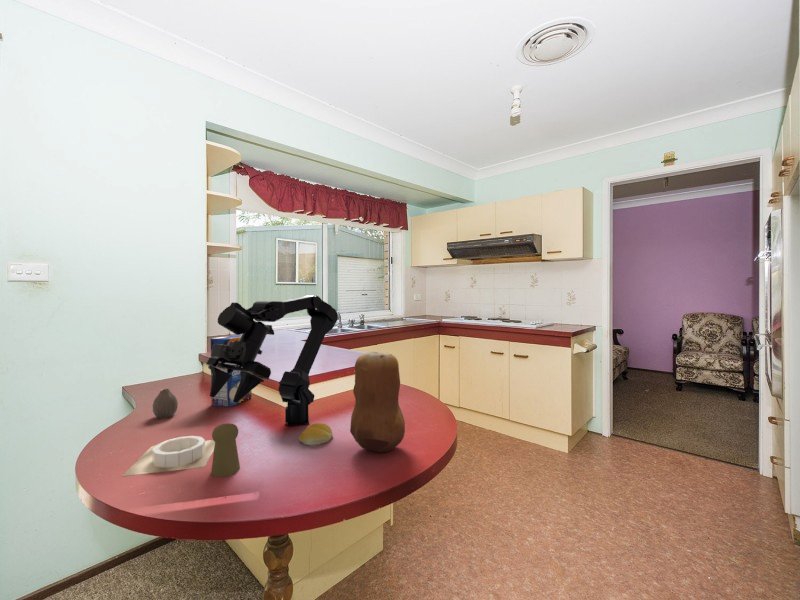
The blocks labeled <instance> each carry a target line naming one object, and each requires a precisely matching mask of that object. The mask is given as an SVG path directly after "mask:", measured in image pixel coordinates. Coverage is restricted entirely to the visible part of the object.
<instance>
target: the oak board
mask: <svg viewBox="0 0 800 600" xmlns="http://www.w3.org/2000/svg"><path fill="white" fill-rule="evenodd" d="M155 446H156V445H151V446H150V448H148V449H147V450H146V451H145V452H144V453H143V454H142V455H141V457H139V458H138V459H137V460H136V462H134V463H133V464H132V465H131V467H129V468H128V469H127V470H126V471H125V472H124V473H123V474H122V477H128V476H131V477H132V476H137V475H138V476H139V475H145V474H146V475H147V474H156V473H163V472H165V473H166V472H172V471H173V472H175V471H181V470H188V469H189V470H190V469H199V468H205V467H206V465H207V464H208V462H209V460H210V458H211V456H212V455H213V454H214V446H215V442H214V441H213V439H212V440H210V439H209V440H205V453H204V455H203V456H202V457H201V458H199V459H198V460H196V461H194V462H192V463H188V464H185V465H182V466H177V467H168V468H166V467H165V468H163V467H156V466H155V465H154V464H153V455H152V449H153V448H154V447H155Z"/></svg>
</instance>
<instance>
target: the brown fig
mask: <svg viewBox="0 0 800 600" xmlns="http://www.w3.org/2000/svg"><path fill="white" fill-rule="evenodd" d="M178 404H179V402H178V398H177V397H176V396H175V395H174V393H172V391H171V390H170V388H164V389H160V391H159V393H158V395H157V396H156V397H155V398H154V400H153V403H152V412H153V415H154V416H155V417H157V418H158V419H168V418H171V417H173V416H174V415H175V414H176V412H177V410H178V407H179V406H178Z"/></svg>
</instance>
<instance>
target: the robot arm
mask: <svg viewBox="0 0 800 600" xmlns="http://www.w3.org/2000/svg"><path fill="white" fill-rule="evenodd" d="M304 310H306V312H307V315H308V316H310V319H309V320H310V321H309V322H310V328H311V329H310V330H309V333H308V336H307V337H306V340H305V342H304V345H303V347H302V349H301V351H300V353H299V356H298V358H297V361H296V362H295V364H294V367H293V368H292V369H291V370H290V371H287V370H286V371H284V372H283V374H282V377H281V379H280V381H279V382H278V384H279V385H278V389H277V390H278V393H279V395H280V397H281V400H282V402H283V403H287V404H286V405H287V406H285V408H284V410H285V413H284V414H285V423H286V426H287V427H290V426H291V427H292V425H293V426H300V425H302V426H303V425H309V424H310V417H309V414H310V413H309V405H311V403H314V400H315V394H314V393H313V392H312V391H311V390H310V389H309V388H310V384H311V383H310V382H311V380H310V372H311V369H312V367H313V365H314V362H315V360H316V357H317V355H318V353H319V350H320V349H321V346H322V343H323V340H324V338H325V337H326V335H327V334H328V333H329V332H331V330H333V329H334V327H335V325H336V324H337V322H338V320H339V315H338V314H339V313H338V312H337V309H336V308H334V307H333V306H332V305H331V304H329V303H328V302H326V301H324V300H322V298H321V297H320V296H318V295H315V294H314V295H313V294H310V295H309V294H307V295H305V296H299V297H296V298H290V299H285V300H284V299H283V300H280V301H273V300H271V301H270V300H269V301H268V300H267V301H266V300H258V301H255V302H253V304H252V306H251V307H249V308H245V307H243V306H242V305H241V304H240V303H239V302H231V303H230V305H229V306H227V307H226V308H224V309H223V310H222V312H220V313H219V315H218V317H217V323H218V325H219V326H222V328H225V329H226V330H227V331H229V332H231V333H233V334H234V335H242V336H241V338H240V340H239V341H235V342H230V344H229V345H220V344H213V348H212V353H211V352H210V357H209V358H208V360H207V362H206V366H207V367H208V369H209V370H210V373H211V372H212V384H211V383H210V385H211V386H210V391H209V397H210V398H211V397H213V398H214V397H215V396H216V395H217V393H218V392H219V391H220V390H221V388H222V387H223V386H224V385H225V383H226V382H227V381H228V380H229V378H230V377H231V376H232V375H230V374H228V373H232V372H233V371H234V370H237V371H240V375H241V381H240V384H239V386H238V389H237V391H236V394H235V396H234V399H233V402H235V403H237V402H239V401H240V400H241V399H242V398H243V397H244V396H245V395H246V394H248V393H249V392H250V391H251V390H253V389H255V388H256V387H257V386H259V385H260V384H261V383H264V382H265V380H267V381H269V380H270V377H271V375H272V370H271V368H270V367H269V366H266V365H265V364H263V363H261V362H259V361H256V358H257V356H258V355H262V353H263V350H261V347H262V345H263V343H264V341H265V339H266V337H267V335H269V336H271V335H272V336H274V335H275V331H274V329H273V325H271V324H265V323H266V322H267V323H269V322H270V323H275V322H277V321H280V320H281V319H283V318H284V317H285V316H286V315H288V314H292V313H296V312H301V311H304ZM263 322H264V323H263ZM211 356H212V357H211ZM235 366H236V367H235ZM241 367H242V368H241Z"/></svg>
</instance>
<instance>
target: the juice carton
mask: <svg viewBox="0 0 800 600" xmlns="http://www.w3.org/2000/svg"><path fill="white" fill-rule="evenodd" d="M241 336H242V334H241V335H236V334H232V335H227V336H220V337H212V338H210V354H211V353H212V348H213V344H220V345H229V344H230V342H235V341H239V340H240V338H241ZM210 357H212V356H211V355H210ZM235 367H236V366H235ZM241 368H242V367H241ZM228 374H230V375H232V376H231V377H230V378H229V380H228V381H227V382H226V383H225V385H224V386H223V387H222V388H221V390H220V391H219V392H218V393H217V395H216V396H215V397H214V398H213V397H210V398H211V401H210V403H211V405H210V406H215V407H216V406H217V407H224V408H229V407H231V406H232V407H233V406H235V405H238V404H240V403H242V402H241V401H243V402H245V401H247V400H246V399H248V398H251V397H253V396H252V395H253V393H252V390H253V389H252V390H251V391H250V392H249V393H248V394H246V395H245V396H244V397H243V398H242V399H241V400H240V401H239V402H237V403H238V404H237V403H235V402H233V399H234V396H235V394H236V391H237V389H238V386H239V384H240V381H241V375H240V371H237V370H234V371H233V372H232V373H228ZM211 384H212V372H211V371H210V385H211ZM251 399H252V398H251ZM244 400H245V401H244ZM248 400H249V399H248Z"/></svg>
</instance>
